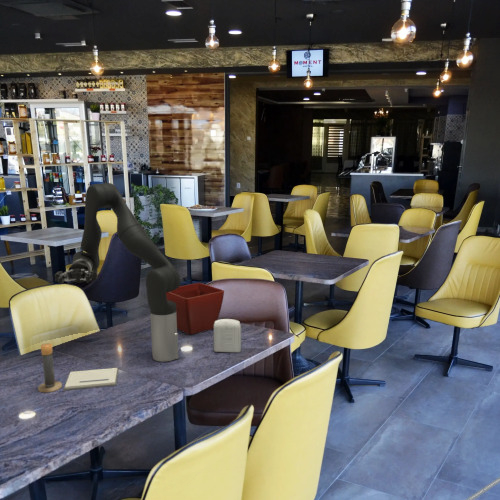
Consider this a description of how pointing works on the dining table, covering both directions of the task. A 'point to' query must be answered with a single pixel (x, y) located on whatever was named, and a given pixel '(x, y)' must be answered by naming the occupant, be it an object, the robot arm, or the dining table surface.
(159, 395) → the dining table surface
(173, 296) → the plant pot
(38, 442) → the dining table surface
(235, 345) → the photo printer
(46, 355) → the marker
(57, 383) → the coaster
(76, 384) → the notepad
